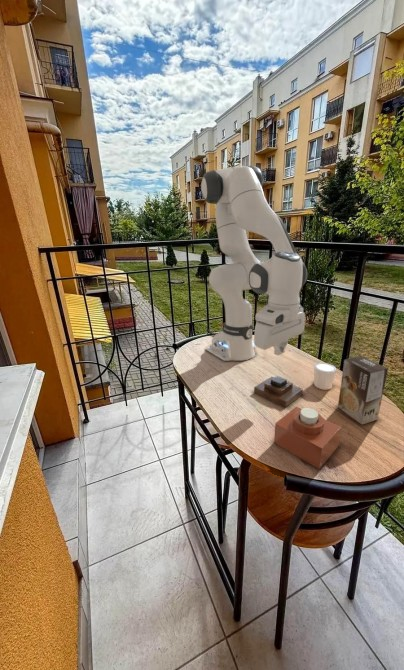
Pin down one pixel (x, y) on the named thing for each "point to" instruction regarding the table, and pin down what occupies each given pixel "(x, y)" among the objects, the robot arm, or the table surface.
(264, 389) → the switch block
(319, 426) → the push button box
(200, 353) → the table surface
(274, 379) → the switch button
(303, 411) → the white push button
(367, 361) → the coffee box
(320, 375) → the white cylinder
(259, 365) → the table surface
